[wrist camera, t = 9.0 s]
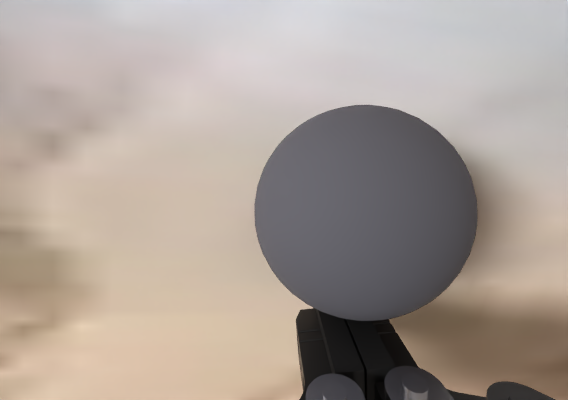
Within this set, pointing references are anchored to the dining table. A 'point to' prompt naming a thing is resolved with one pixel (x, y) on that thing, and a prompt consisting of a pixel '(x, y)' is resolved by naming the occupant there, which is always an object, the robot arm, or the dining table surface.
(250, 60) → the dining table surface
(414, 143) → the gray ball
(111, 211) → the dining table surface
